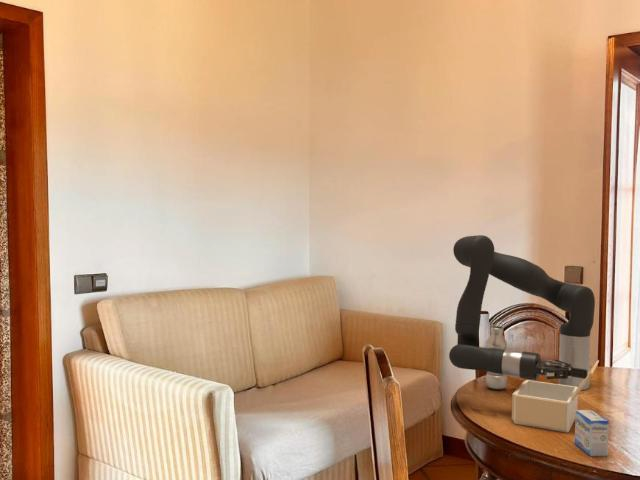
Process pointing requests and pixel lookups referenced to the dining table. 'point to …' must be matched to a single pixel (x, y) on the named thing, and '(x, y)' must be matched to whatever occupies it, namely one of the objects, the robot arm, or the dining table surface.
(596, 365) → the flap
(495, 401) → the dining table surface
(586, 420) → the medicine box
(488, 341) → the plastic bottle
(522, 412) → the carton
